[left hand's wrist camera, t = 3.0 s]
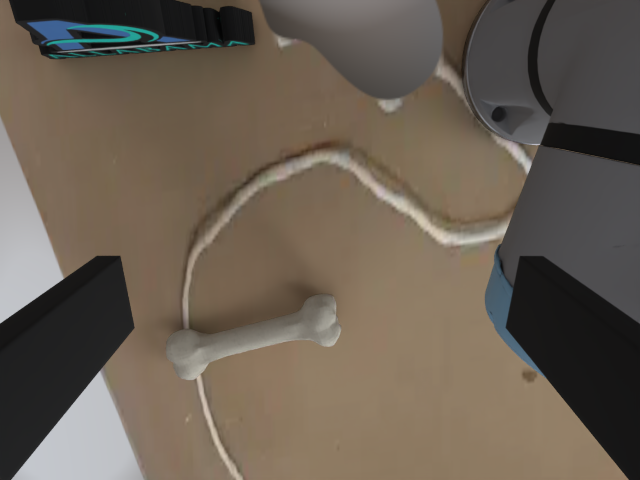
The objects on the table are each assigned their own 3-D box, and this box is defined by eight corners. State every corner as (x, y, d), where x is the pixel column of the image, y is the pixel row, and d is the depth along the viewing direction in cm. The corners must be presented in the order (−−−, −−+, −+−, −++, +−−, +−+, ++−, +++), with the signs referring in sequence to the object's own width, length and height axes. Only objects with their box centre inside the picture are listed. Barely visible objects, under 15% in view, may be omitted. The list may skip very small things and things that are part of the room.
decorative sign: (54, 59, 35) (-125, 32, 21) (46, 29, 34) (-146, -20, 20) (255, 44, 35) (209, 6, 21) (252, 14, 34) (201, -48, 20)
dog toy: (189, 365, 47) (174, 394, 42) (169, 325, 45) (151, 350, 40) (345, 325, 45) (348, 352, 40) (331, 282, 43) (332, 304, 38)
